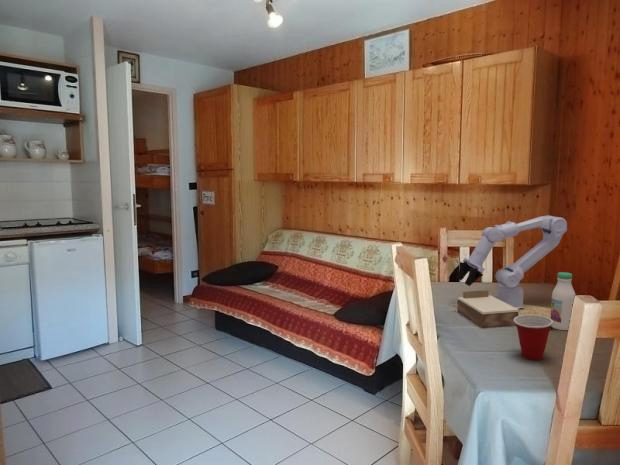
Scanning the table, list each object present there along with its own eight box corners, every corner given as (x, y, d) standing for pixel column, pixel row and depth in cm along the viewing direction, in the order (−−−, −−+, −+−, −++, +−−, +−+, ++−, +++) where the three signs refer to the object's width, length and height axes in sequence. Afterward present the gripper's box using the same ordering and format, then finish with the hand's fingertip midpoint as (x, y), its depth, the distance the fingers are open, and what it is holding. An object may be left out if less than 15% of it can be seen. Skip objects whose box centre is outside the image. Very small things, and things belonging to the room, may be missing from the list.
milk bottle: (572, 324, 164) (574, 271, 162) (576, 331, 157) (579, 276, 154) (548, 323, 167) (550, 270, 164) (552, 330, 159) (554, 275, 157)
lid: (489, 296, 184) (490, 289, 184) (518, 311, 164) (518, 303, 164) (457, 299, 182) (457, 291, 182) (482, 314, 163) (482, 305, 162)
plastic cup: (505, 350, 143) (506, 314, 141) (537, 348, 144) (539, 312, 142) (524, 365, 132) (526, 326, 131) (559, 362, 133) (561, 323, 131)
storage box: (489, 309, 185) (489, 297, 184) (518, 325, 165) (518, 312, 164) (457, 311, 183) (457, 299, 182) (482, 328, 163) (482, 315, 163)
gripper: (464, 245, 190) (447, 272, 192) (481, 253, 176) (463, 283, 177) (477, 252, 191) (461, 280, 193) (495, 261, 177) (477, 290, 179)
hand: (462, 282), depth 185 cm, fingers open, 7 cm apart
